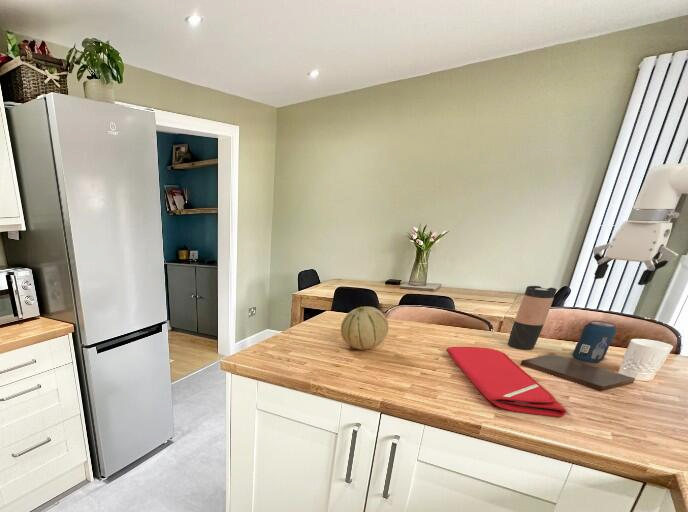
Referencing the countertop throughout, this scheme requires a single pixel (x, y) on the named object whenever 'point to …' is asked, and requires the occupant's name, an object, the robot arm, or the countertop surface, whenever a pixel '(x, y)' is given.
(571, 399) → the countertop surface
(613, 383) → the serving board
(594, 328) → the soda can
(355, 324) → the cantaloupe
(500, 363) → the red folded napkin
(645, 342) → the white cup
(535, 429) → the countertop surface
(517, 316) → the travel mug
